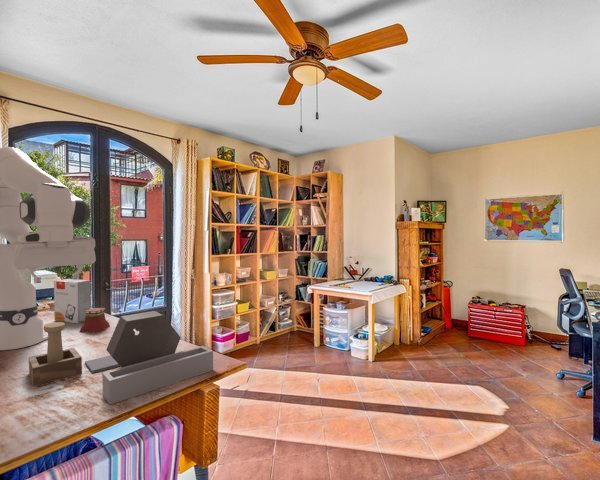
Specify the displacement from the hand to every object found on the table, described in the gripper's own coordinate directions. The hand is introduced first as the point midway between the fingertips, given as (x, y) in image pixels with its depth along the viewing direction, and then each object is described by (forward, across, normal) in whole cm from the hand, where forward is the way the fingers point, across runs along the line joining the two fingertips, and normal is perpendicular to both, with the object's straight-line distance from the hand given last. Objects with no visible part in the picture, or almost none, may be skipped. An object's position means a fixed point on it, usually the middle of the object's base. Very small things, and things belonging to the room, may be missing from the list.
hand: (57, 281), depth 98 cm
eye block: (+28, +1, 0) cm, 28 cm away
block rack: (+29, -19, +29) cm, 45 cm away
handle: (+28, +1, 0) cm, 28 cm away
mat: (+28, -12, +3) cm, 31 cm away
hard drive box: (+28, -16, -70) cm, 77 cm away
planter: (+29, -18, +18) cm, 39 cm away
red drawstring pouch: (+28, -20, -44) cm, 56 cm away
